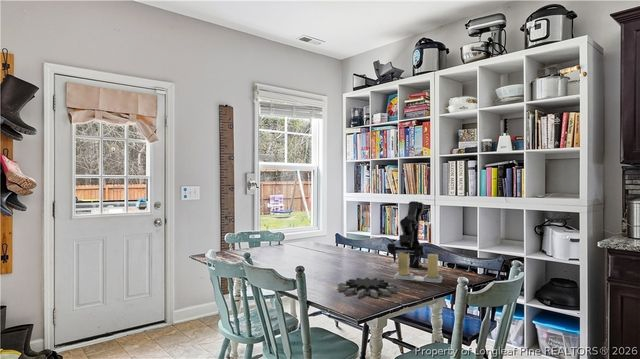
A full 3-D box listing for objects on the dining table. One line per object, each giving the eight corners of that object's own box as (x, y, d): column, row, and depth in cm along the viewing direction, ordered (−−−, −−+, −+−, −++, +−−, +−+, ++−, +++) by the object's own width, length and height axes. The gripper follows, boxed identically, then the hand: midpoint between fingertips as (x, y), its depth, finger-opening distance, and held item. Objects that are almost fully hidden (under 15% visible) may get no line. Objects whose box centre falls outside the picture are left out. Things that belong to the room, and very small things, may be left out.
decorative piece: (366, 271, 202) (413, 282, 179) (366, 279, 202) (413, 291, 179) (321, 281, 183) (368, 295, 160) (321, 289, 183) (368, 304, 160)
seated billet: (429, 278, 199) (428, 253, 199) (438, 279, 197) (437, 254, 197) (427, 280, 195) (427, 255, 195) (437, 281, 193) (436, 255, 193)
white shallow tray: (397, 276, 207) (397, 271, 207) (442, 280, 198) (442, 275, 198) (393, 280, 199) (393, 275, 199) (440, 284, 190) (440, 279, 190)
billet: (400, 275, 204) (400, 251, 205) (409, 276, 203) (408, 252, 203) (398, 277, 200) (398, 253, 200) (407, 278, 198) (407, 253, 199)
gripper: (387, 228, 210) (382, 252, 199) (423, 229, 202) (420, 254, 192) (391, 240, 217) (386, 264, 207) (425, 242, 209) (422, 267, 199)
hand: (403, 262), depth 201 cm, fingers open, 9 cm apart
